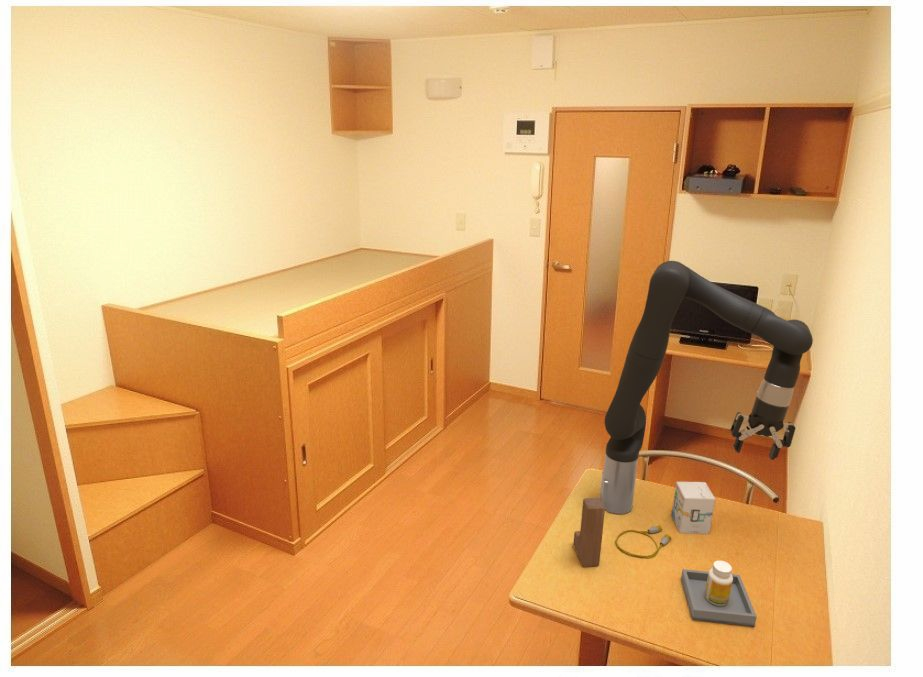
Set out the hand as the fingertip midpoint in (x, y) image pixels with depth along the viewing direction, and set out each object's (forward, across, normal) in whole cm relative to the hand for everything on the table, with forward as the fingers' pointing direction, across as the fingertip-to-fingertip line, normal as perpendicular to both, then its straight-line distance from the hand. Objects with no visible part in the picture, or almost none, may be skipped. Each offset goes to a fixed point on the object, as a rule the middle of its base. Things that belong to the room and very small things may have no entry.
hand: (754, 454), depth 158 cm
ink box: (+29, -8, +6) cm, 30 cm away
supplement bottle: (+28, -7, -24) cm, 37 cm away
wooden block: (+32, -37, -13) cm, 51 cm away
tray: (+28, -7, -24) cm, 38 cm away
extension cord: (+31, -22, -5) cm, 38 cm away
